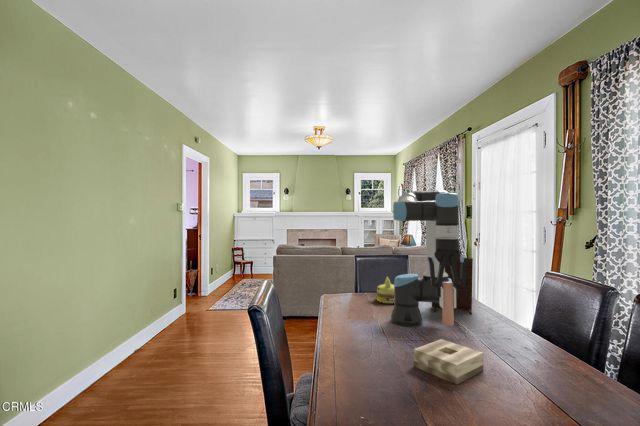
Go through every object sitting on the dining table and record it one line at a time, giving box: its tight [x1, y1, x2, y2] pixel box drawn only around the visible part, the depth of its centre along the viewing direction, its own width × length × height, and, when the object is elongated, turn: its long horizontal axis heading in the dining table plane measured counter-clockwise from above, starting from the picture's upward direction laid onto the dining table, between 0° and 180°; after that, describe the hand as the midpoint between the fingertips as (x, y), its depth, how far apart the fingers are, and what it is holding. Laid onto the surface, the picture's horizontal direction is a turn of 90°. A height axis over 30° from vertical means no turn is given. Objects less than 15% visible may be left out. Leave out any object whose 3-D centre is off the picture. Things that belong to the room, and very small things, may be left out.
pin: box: [441, 282, 455, 326], centre depth 115 cm, size 4×4×14 cm
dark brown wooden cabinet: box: [431, 257, 474, 316], centre depth 187 cm, size 21×11×30 cm, turn 71°
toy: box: [375, 276, 394, 304], centre depth 208 cm, size 16×15×15 cm
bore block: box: [413, 338, 484, 385], centre depth 115 cm, size 16×16×6 cm
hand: (447, 306), depth 115 cm, fingers closed on pin, 3 cm apart
